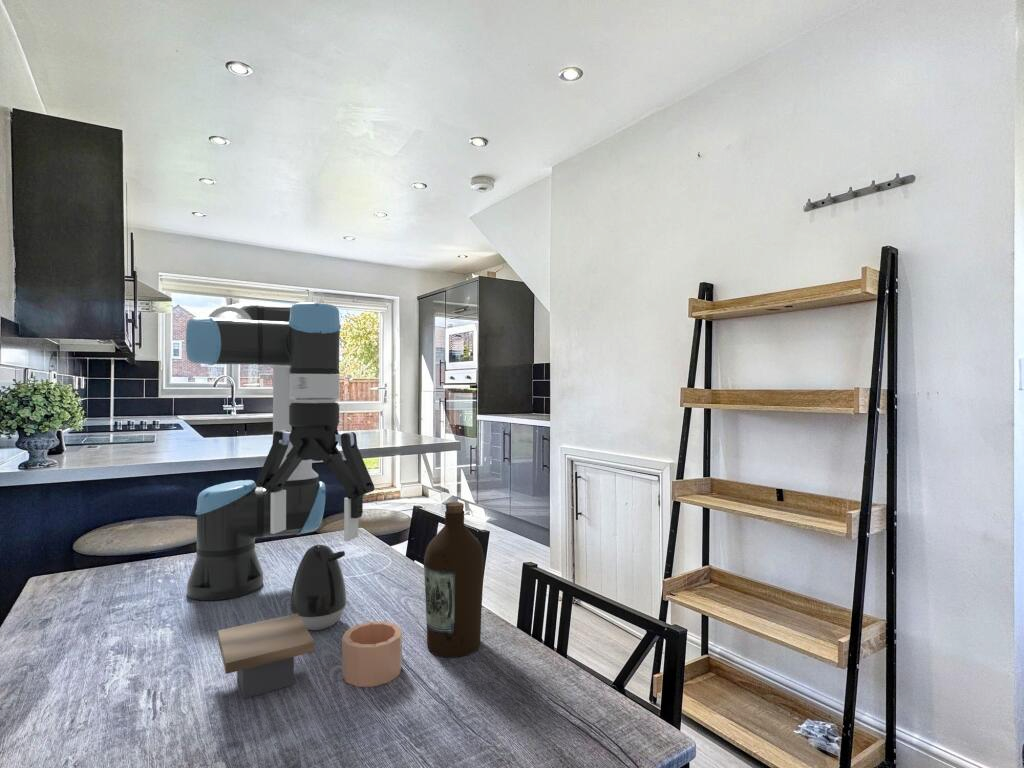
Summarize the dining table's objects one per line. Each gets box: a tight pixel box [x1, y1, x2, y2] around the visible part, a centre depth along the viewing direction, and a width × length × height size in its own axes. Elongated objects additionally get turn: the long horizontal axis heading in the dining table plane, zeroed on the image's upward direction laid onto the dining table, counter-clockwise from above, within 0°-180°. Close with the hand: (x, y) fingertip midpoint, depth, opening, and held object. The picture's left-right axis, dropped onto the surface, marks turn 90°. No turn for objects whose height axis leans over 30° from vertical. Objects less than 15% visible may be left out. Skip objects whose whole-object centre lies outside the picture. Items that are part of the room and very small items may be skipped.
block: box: [236, 657, 295, 700], centre depth 85 cm, size 7×7×6 cm
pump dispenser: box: [289, 544, 347, 631], centre depth 105 cm, size 10×10×15 cm
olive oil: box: [423, 501, 485, 658], centre depth 97 cm, size 11×11×25 cm
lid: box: [217, 613, 316, 675], centre depth 85 cm, size 12×12×2 cm
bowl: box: [341, 620, 403, 688], centre depth 88 cm, size 9×9×6 cm
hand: (313, 535), depth 87 cm, fingers open, 13 cm apart
